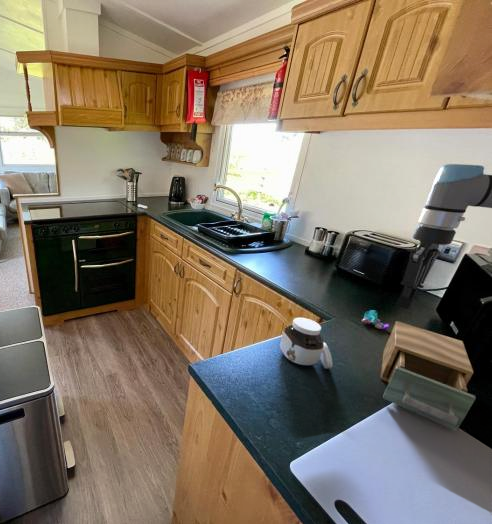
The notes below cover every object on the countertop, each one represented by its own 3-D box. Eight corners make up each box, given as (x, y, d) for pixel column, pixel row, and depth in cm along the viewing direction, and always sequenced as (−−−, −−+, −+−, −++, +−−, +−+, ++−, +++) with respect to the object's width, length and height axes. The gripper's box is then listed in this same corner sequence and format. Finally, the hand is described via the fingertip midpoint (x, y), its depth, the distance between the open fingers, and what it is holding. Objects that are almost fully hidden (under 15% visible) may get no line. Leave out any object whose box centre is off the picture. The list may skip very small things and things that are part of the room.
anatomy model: (380, 321, 97) (394, 316, 99) (357, 310, 104) (370, 306, 106) (377, 334, 99) (390, 329, 101) (354, 322, 106) (366, 318, 108)
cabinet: (453, 408, 68) (473, 372, 65) (380, 379, 77) (395, 345, 73) (445, 373, 81) (462, 341, 77) (383, 351, 89) (396, 320, 85)
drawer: (461, 451, 57) (482, 417, 54) (381, 414, 64) (395, 382, 61) (448, 391, 73) (464, 362, 70) (385, 366, 80) (397, 340, 77)
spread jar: (273, 349, 86) (282, 315, 82) (305, 345, 89) (315, 312, 85) (303, 377, 75) (315, 340, 71) (338, 372, 78) (351, 336, 74)
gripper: (446, 232, 69) (409, 317, 77) (465, 228, 75) (428, 308, 83) (408, 225, 75) (377, 305, 83) (427, 222, 81) (397, 297, 89)
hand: (403, 306), depth 83 cm, fingers closed
